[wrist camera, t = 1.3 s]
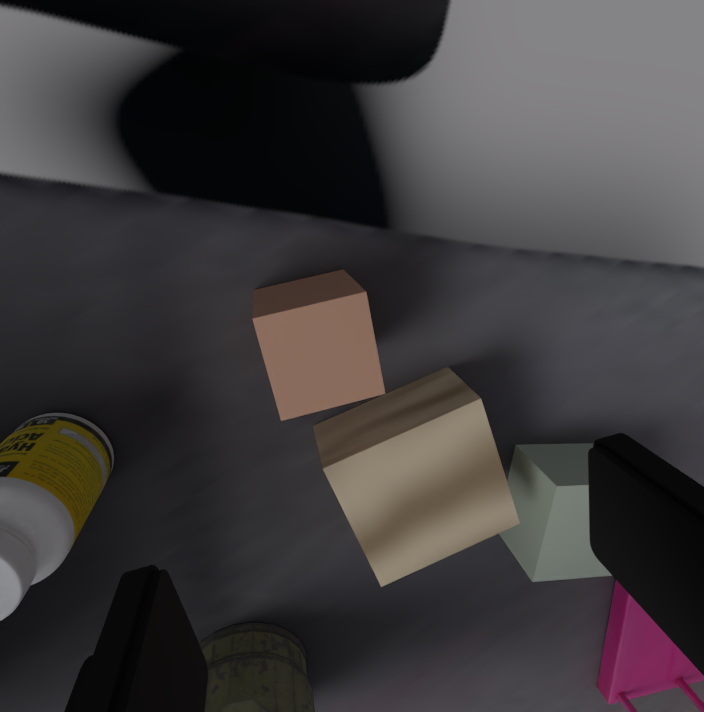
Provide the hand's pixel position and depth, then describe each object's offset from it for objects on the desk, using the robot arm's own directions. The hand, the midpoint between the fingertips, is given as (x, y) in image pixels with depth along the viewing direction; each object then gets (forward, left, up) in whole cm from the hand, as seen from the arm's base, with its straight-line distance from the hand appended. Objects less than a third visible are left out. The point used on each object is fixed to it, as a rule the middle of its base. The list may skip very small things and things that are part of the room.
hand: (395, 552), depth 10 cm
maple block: (+10, +4, -18) cm, 21 cm away
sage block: (+16, +14, -18) cm, 28 cm away
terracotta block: (0, 0, -18) cm, 18 cm away
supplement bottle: (+4, -15, -18) cm, 24 cm away
